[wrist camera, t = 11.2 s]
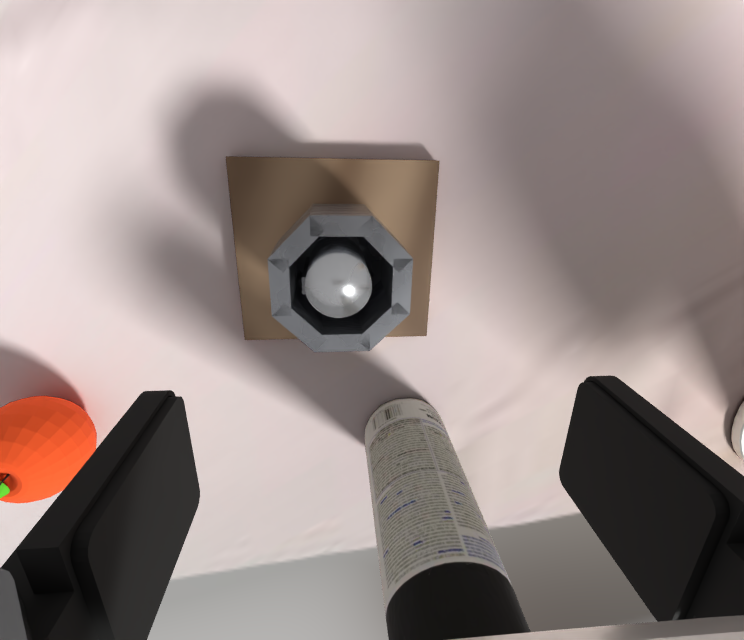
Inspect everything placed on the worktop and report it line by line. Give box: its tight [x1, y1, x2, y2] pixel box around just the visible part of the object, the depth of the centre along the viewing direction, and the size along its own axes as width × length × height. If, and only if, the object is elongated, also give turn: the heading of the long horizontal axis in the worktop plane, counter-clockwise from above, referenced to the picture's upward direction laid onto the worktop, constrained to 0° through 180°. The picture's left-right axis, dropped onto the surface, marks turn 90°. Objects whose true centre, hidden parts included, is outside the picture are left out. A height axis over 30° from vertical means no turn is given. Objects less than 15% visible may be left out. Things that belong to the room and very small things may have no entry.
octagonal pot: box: [268, 204, 413, 352], centre depth 23 cm, size 7×7×5 cm
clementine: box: [0, 396, 97, 503], centre depth 28 cm, size 8×7×7 cm
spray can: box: [365, 398, 530, 640], centre depth 25 cm, size 7×7×20 cm
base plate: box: [226, 157, 439, 340], centre depth 28 cm, size 13×12×1 cm
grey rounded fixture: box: [297, 236, 381, 318], centre depth 24 cm, size 7×7×7 cm
